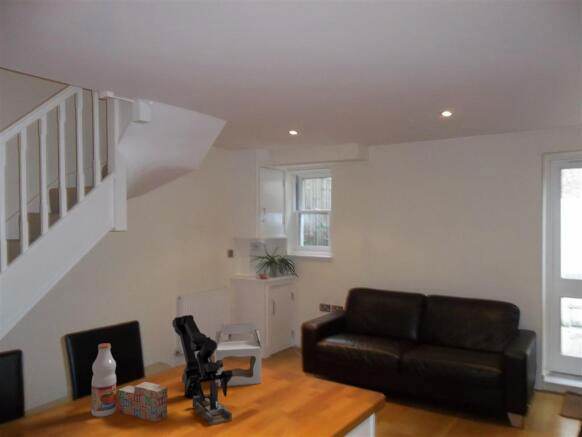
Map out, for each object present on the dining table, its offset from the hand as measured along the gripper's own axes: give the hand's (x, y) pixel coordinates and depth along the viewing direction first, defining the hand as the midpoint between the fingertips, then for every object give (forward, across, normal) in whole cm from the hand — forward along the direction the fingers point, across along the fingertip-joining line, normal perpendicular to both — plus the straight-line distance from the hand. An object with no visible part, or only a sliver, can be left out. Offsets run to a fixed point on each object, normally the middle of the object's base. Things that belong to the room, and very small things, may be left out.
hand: (215, 398), depth 189 cm
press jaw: (+3, 0, +5) cm, 6 cm away
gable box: (-19, +26, +31) cm, 45 cm away
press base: (+3, 0, +8) cm, 9 cm away
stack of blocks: (-7, -24, +18) cm, 31 cm away
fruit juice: (-14, -38, +25) cm, 47 cm away
